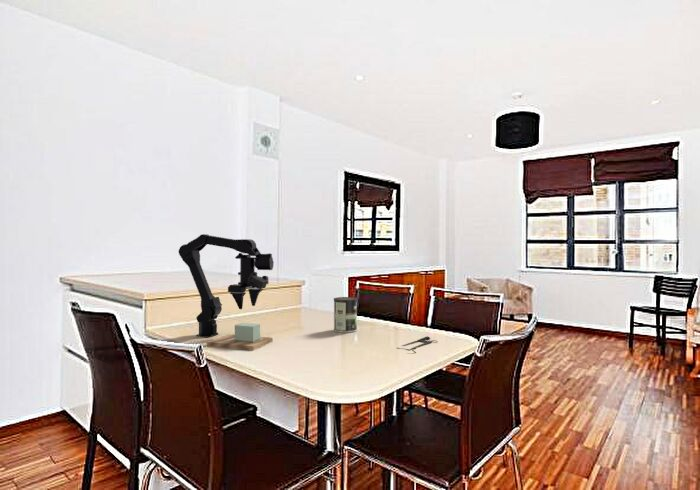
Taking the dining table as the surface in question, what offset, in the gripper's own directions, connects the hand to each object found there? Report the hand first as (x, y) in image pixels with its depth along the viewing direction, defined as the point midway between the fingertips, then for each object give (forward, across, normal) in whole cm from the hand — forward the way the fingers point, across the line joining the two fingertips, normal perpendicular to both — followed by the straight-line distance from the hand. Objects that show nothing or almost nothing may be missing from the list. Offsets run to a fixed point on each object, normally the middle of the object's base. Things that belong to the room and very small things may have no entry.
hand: (247, 307), depth 177 cm
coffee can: (+12, +25, -34) cm, 44 cm away
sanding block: (+10, -12, -8) cm, 17 cm away
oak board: (+12, -12, -5) cm, 17 cm away
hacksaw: (+12, +10, -70) cm, 71 cm away
